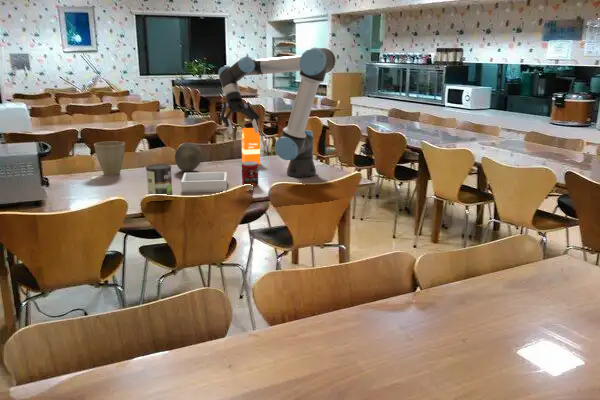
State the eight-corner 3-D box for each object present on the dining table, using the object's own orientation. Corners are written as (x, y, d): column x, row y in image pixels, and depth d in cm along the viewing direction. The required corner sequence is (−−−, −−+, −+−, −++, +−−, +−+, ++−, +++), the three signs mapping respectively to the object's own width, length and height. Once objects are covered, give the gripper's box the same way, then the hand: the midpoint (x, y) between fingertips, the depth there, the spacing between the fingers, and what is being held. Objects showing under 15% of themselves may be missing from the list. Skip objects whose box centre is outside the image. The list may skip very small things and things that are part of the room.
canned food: (243, 188, 248) (243, 164, 245) (240, 184, 255) (240, 161, 252) (259, 187, 250) (259, 164, 247) (256, 183, 257) (256, 160, 254)
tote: (227, 181, 259) (226, 171, 257) (226, 191, 241) (226, 180, 240) (185, 182, 256) (184, 172, 255) (181, 192, 239) (180, 181, 238)
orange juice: (242, 162, 304) (241, 127, 298) (257, 161, 306) (256, 126, 301) (244, 165, 296) (243, 129, 291) (260, 164, 299) (259, 128, 293)
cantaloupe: (170, 173, 275) (168, 144, 271) (182, 168, 288) (181, 140, 284) (195, 175, 272) (194, 146, 268) (207, 169, 285) (205, 141, 281)
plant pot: (115, 178, 264) (112, 146, 260) (90, 176, 269) (87, 145, 264) (133, 172, 277) (131, 142, 273) (109, 170, 282) (107, 140, 278)
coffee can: (176, 196, 233) (175, 164, 230) (166, 202, 224) (164, 169, 220) (155, 194, 235) (152, 163, 232) (143, 201, 226) (141, 168, 222)
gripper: (252, 100, 270) (264, 135, 263) (206, 99, 257) (217, 137, 250) (258, 91, 264) (270, 127, 257) (211, 90, 251) (222, 128, 244)
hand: (244, 132), depth 253 cm, fingers open, 13 cm apart
